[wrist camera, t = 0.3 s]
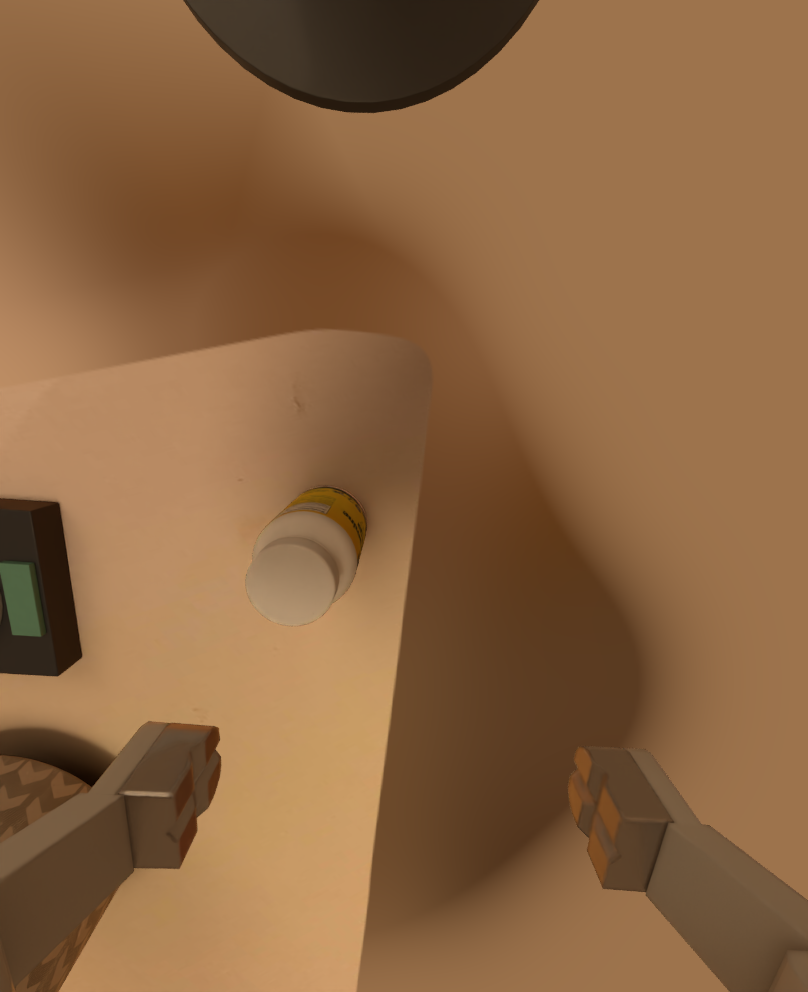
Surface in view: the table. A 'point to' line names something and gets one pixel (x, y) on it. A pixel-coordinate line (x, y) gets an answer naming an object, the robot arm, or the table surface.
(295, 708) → the table surface
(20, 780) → the planter
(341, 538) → the pill bottle
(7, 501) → the scale
